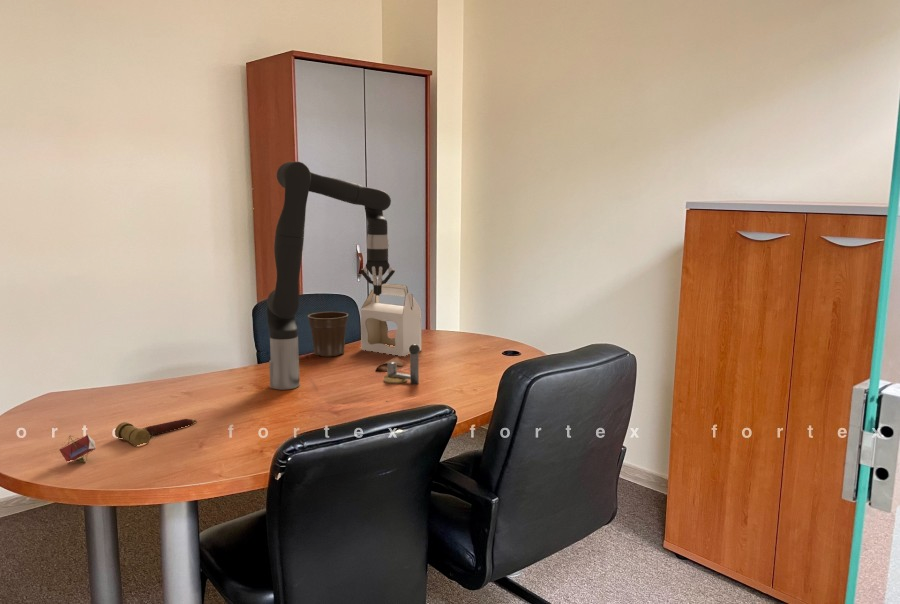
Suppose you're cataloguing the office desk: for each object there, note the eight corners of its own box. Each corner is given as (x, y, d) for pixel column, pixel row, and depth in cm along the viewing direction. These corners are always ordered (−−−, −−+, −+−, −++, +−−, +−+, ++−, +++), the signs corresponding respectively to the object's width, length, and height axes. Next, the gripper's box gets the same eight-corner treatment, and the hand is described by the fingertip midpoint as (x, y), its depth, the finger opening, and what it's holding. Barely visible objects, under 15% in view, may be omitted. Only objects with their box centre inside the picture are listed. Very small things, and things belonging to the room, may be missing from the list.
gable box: (360, 350, 285) (359, 283, 280) (380, 344, 296) (379, 280, 291) (403, 357, 273) (403, 288, 269) (422, 350, 284) (422, 284, 280)
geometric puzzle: (55, 462, 161) (75, 432, 163) (51, 453, 167) (71, 424, 168) (83, 474, 165) (103, 444, 167) (79, 464, 171) (98, 436, 172)
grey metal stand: (379, 381, 233) (379, 342, 230) (392, 376, 240) (392, 338, 237) (412, 387, 226) (412, 347, 224) (425, 381, 233) (425, 342, 231)
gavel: (186, 409, 198) (206, 416, 192) (186, 425, 198) (206, 432, 192) (114, 424, 182) (133, 432, 175) (114, 440, 182) (133, 449, 176)
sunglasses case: (396, 377, 243) (387, 360, 243) (381, 385, 246) (372, 369, 246) (414, 365, 260) (406, 350, 260) (399, 373, 263) (391, 357, 263)
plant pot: (304, 351, 282) (303, 312, 280) (342, 347, 289) (341, 310, 286) (314, 360, 268) (313, 319, 265) (354, 356, 274) (353, 316, 272)
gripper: (357, 247, 239) (358, 296, 242) (395, 248, 239) (395, 297, 242) (360, 246, 246) (360, 293, 249) (396, 246, 246) (396, 294, 249)
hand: (377, 295), depth 245 cm, fingers closed
